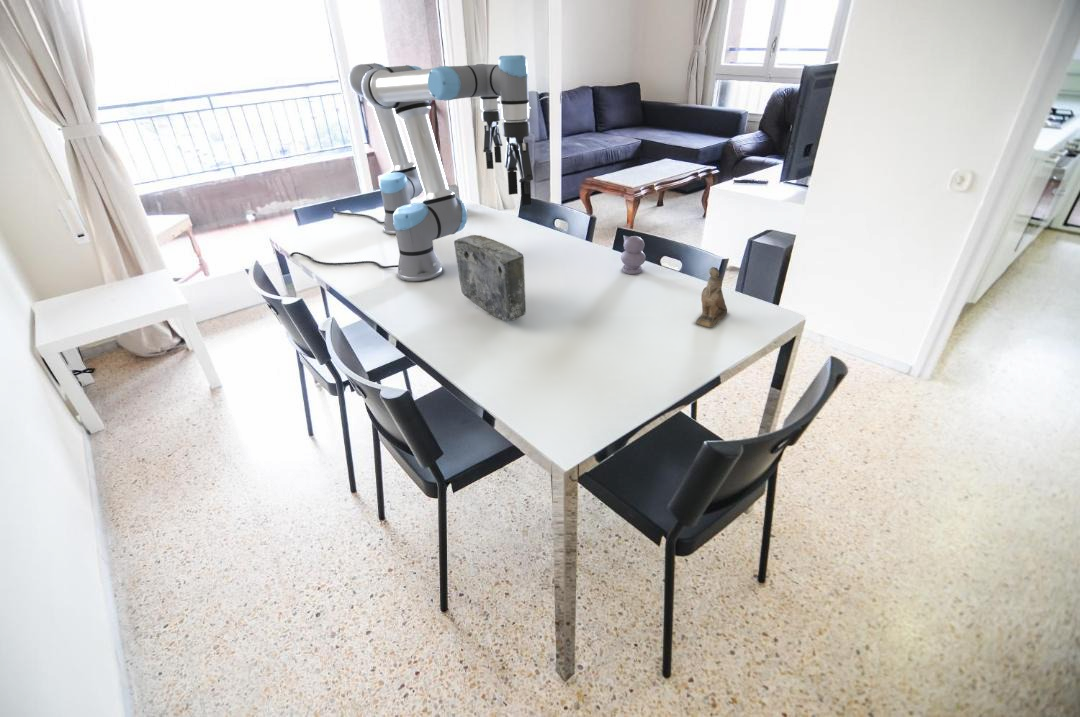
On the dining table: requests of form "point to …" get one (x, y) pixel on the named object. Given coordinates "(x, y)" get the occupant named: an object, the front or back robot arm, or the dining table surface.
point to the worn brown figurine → (712, 301)
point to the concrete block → (492, 276)
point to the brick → (454, 190)
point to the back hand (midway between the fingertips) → (494, 165)
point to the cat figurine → (633, 254)
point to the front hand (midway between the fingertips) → (519, 199)
